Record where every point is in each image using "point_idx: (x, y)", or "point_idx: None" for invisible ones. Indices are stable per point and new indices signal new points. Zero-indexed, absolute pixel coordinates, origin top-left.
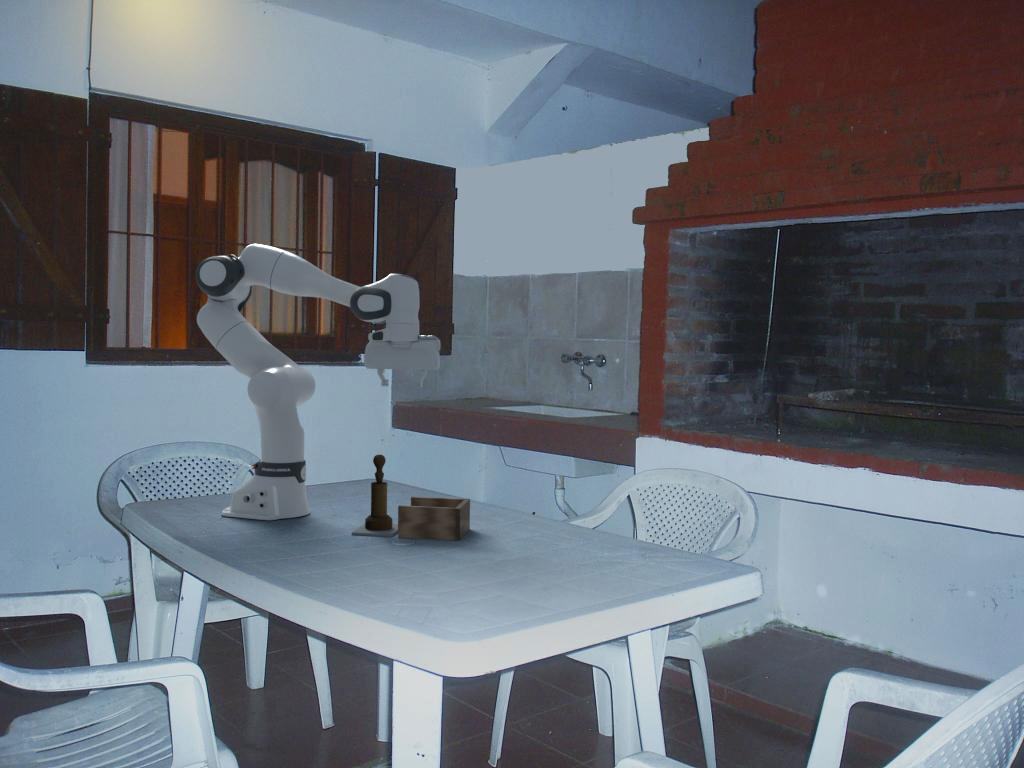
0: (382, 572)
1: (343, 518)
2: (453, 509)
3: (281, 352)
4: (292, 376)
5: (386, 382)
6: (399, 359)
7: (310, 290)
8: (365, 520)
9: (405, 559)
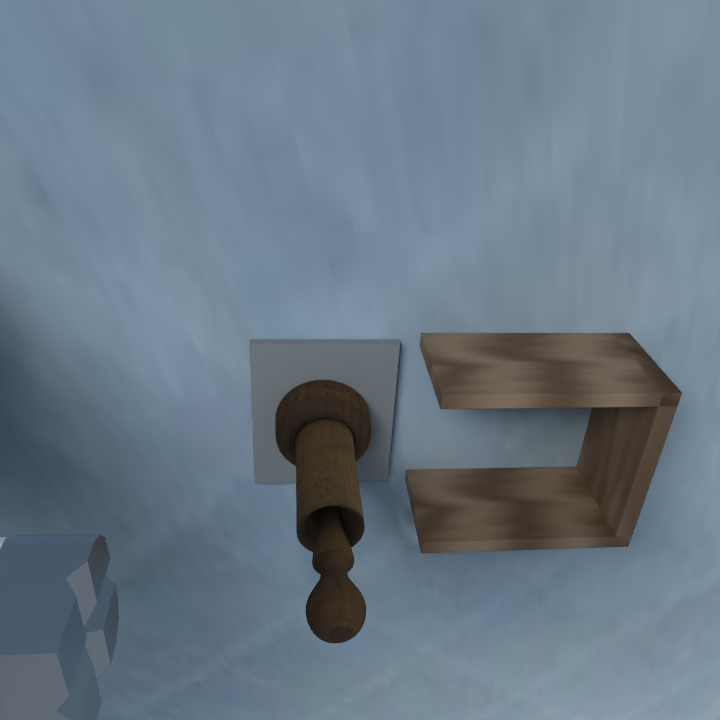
0: (430, 709)
1: (112, 253)
2: (606, 544)
3: None
4: None
5: (96, 694)
6: None
7: None
8: (280, 451)
9: (461, 638)
